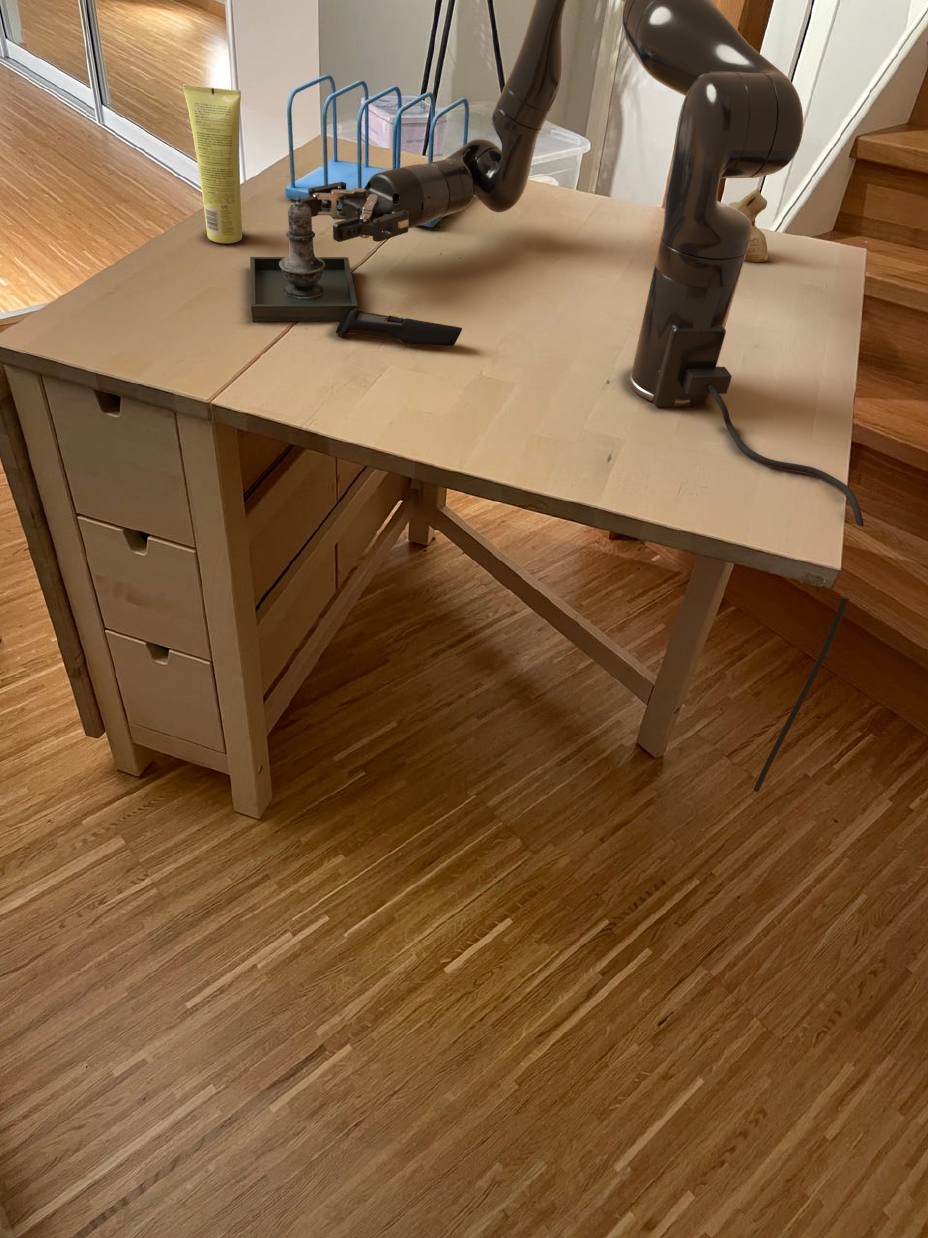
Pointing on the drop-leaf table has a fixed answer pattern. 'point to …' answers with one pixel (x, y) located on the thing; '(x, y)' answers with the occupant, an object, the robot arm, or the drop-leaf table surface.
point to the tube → (217, 157)
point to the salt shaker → (301, 255)
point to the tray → (280, 307)
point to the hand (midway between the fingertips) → (313, 222)
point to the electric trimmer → (397, 329)
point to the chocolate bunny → (751, 209)
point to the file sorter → (358, 142)
